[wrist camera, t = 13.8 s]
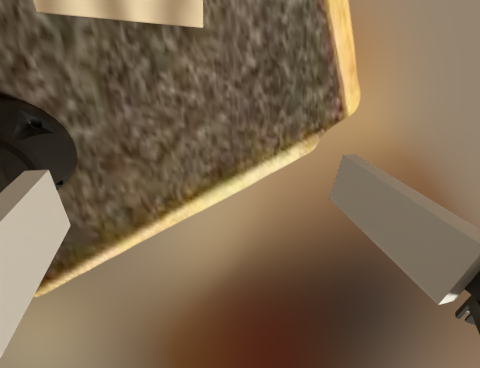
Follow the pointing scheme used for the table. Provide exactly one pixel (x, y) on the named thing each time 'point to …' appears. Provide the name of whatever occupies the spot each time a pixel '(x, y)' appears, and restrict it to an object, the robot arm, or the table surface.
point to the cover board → (130, 10)
